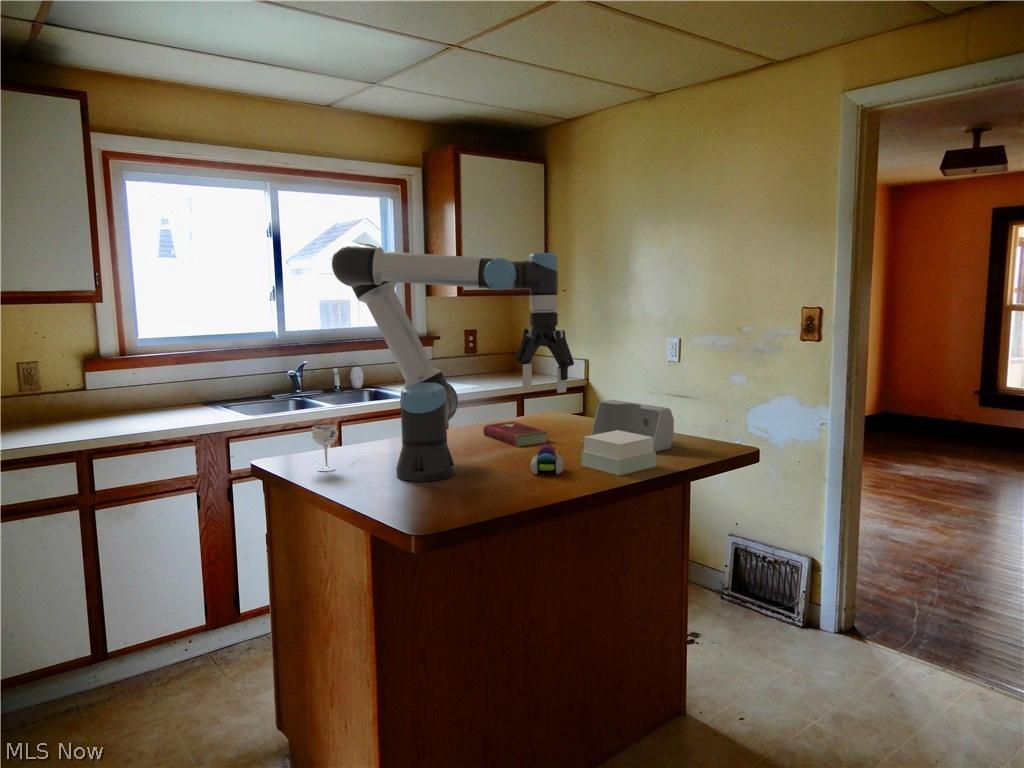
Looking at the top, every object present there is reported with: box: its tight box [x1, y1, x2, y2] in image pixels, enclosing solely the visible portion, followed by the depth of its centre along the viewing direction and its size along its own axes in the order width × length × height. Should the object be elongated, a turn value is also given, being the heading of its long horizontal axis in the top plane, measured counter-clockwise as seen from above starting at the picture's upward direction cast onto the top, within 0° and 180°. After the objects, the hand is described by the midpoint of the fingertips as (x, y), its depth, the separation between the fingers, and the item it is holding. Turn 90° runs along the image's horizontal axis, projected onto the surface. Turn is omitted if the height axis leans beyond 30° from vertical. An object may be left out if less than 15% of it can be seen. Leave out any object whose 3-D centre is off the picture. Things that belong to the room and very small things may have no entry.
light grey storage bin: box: [590, 399, 675, 453], centre depth 214 cm, size 25×16×12 cm, turn 39°
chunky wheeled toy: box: [530, 443, 564, 475], centre depth 183 cm, size 8×10×7 cm
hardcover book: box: [482, 421, 549, 448], centre depth 225 cm, size 12×21×4 cm, turn 30°
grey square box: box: [581, 430, 657, 476], centre depth 187 cm, size 14×14×8 cm
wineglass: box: [311, 423, 339, 468], centre depth 188 cm, size 7×7×12 cm
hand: (544, 389), depth 190 cm, fingers open, 13 cm apart
